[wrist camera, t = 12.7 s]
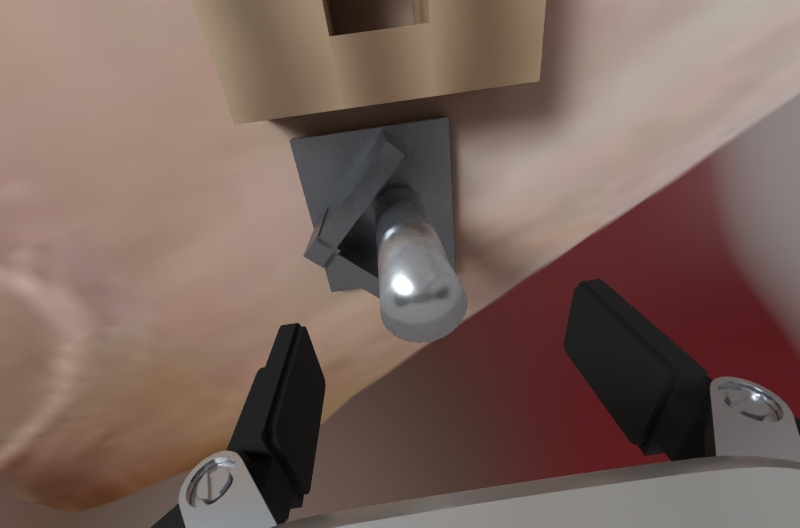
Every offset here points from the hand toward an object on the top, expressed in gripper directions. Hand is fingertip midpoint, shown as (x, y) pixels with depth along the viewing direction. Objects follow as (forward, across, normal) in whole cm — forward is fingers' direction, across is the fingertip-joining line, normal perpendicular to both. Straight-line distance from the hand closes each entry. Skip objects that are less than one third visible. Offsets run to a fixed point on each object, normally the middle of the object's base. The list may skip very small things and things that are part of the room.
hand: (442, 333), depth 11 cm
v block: (+15, +2, +1) cm, 15 cm away
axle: (+14, 0, +1) cm, 14 cm away
